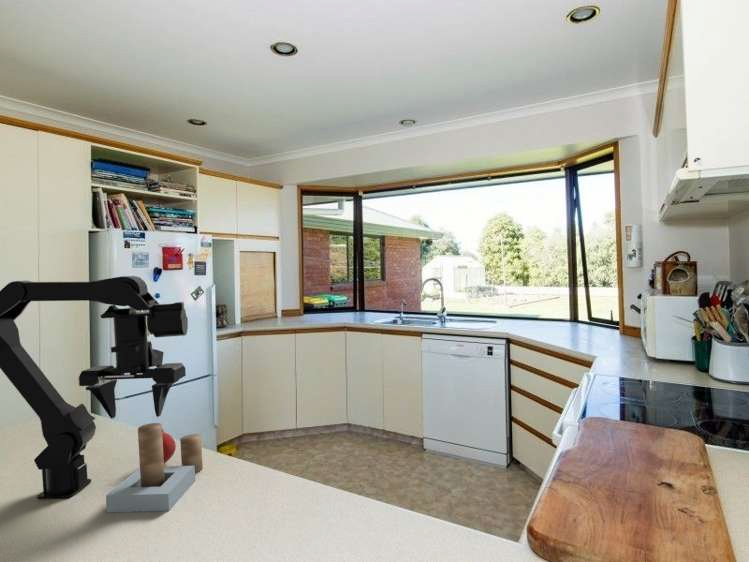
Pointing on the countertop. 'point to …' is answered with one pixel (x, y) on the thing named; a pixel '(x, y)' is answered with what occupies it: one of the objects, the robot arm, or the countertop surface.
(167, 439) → the onion
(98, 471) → the countertop surface
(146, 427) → the walnut peg long
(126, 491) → the collar block
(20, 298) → the robot arm
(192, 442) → the walnut peg short
